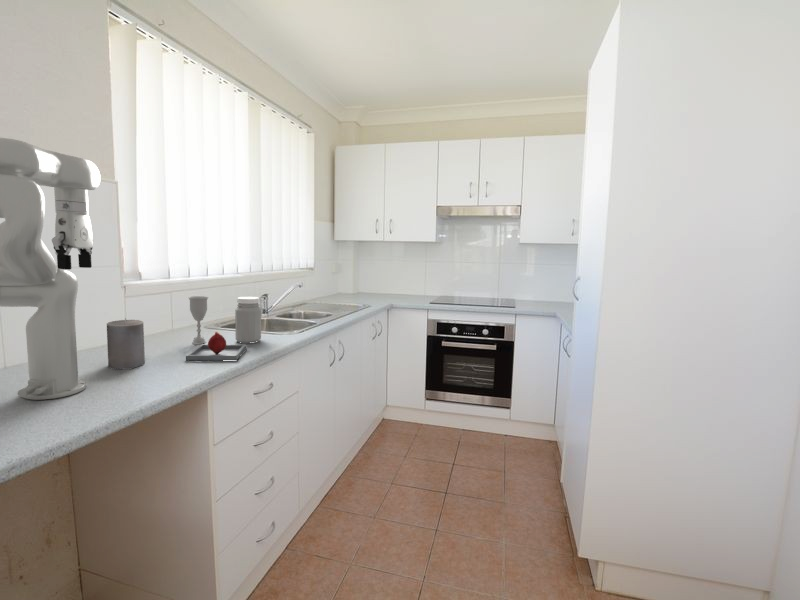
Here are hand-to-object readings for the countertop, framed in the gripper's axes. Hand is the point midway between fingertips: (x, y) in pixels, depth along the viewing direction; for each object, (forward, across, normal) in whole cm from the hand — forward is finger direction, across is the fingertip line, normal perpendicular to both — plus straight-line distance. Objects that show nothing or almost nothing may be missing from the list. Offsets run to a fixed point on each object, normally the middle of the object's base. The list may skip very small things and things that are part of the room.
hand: (75, 268), depth 120 cm
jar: (+31, +38, -41) cm, 64 cm away
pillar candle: (+31, +4, -11) cm, 33 cm away
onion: (+30, +16, -35) cm, 49 cm away
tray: (+30, +16, -35) cm, 49 cm away
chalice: (+31, +35, -23) cm, 52 cm away
